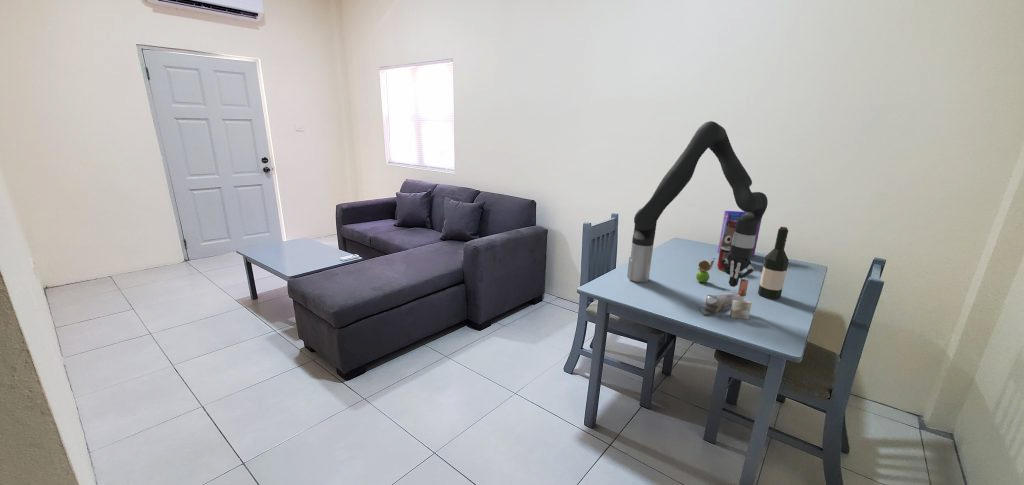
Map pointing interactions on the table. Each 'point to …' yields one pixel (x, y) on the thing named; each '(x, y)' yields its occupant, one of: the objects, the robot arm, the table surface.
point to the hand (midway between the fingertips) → (732, 285)
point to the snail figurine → (704, 271)
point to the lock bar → (728, 296)
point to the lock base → (737, 309)
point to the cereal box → (732, 229)
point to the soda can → (723, 256)
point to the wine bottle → (774, 268)
